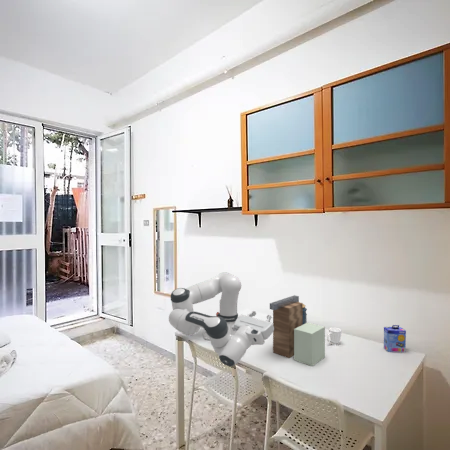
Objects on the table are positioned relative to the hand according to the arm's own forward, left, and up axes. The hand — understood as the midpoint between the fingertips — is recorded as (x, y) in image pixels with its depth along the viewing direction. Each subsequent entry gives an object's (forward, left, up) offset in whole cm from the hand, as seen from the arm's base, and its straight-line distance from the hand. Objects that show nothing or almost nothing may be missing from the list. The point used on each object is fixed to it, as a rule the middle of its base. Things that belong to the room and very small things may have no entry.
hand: (262, 314), depth 147 cm
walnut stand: (+15, +19, -26) cm, 35 cm away
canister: (+27, +61, -26) cm, 72 cm away
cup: (+43, +31, -26) cm, 59 cm away
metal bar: (+13, +17, 0) cm, 21 cm away
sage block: (+25, +11, -26) cm, 38 cm away
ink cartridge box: (+74, +24, -26) cm, 82 cm away
